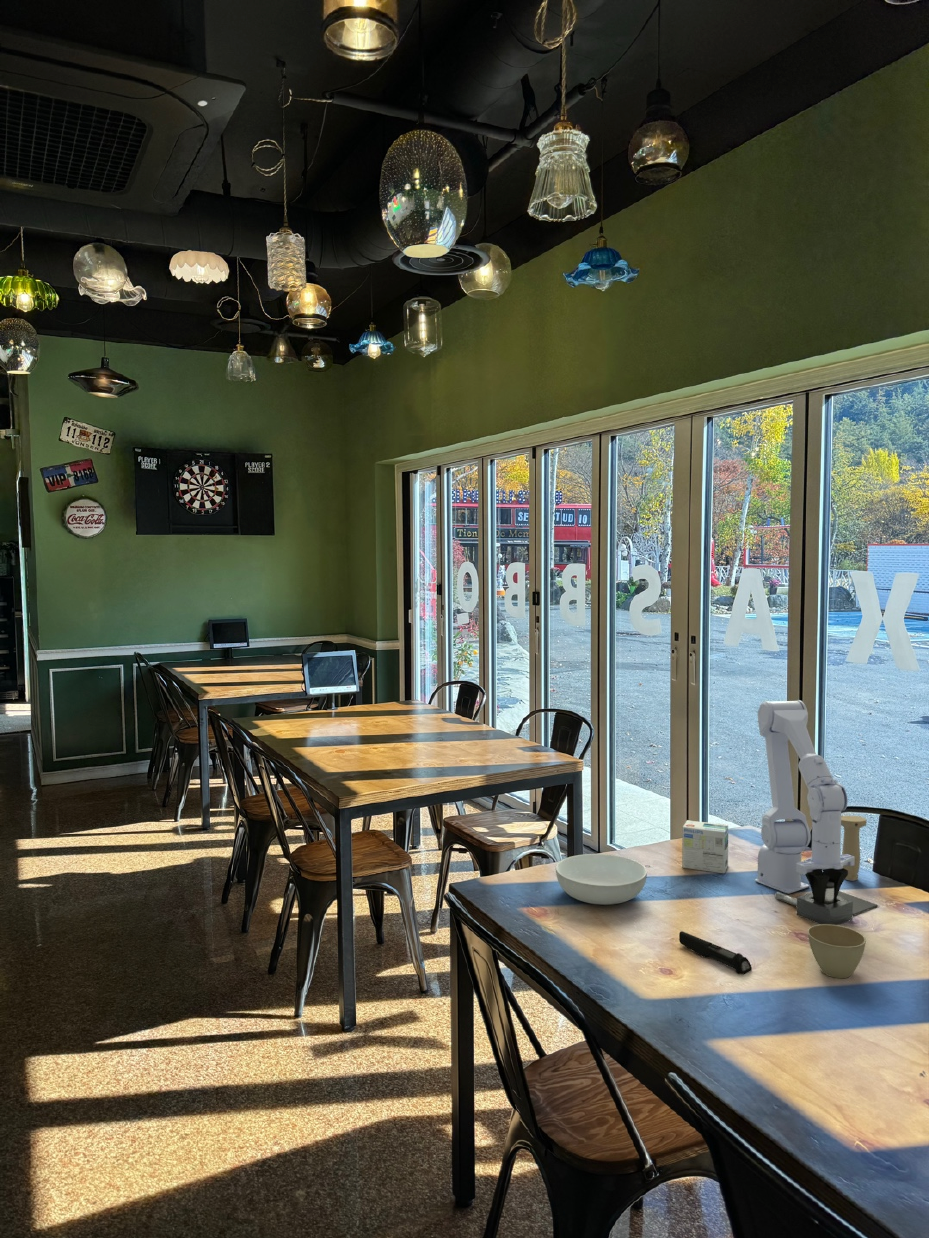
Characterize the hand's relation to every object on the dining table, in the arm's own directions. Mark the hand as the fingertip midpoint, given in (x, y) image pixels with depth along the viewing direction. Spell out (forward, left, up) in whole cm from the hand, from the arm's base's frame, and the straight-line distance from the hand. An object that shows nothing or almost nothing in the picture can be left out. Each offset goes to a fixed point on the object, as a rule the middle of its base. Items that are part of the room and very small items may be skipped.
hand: (824, 901), depth 181 cm
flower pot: (+16, -20, -4) cm, 26 cm away
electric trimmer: (0, -35, -4) cm, 35 cm away
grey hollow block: (-4, 0, -4) cm, 5 cm away
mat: (-2, +11, -4) cm, 11 cm away
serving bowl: (-35, -33, -4) cm, 48 cm away
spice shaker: (0, 0, -2) cm, 2 cm away
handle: (-10, +25, -4) cm, 27 cm away
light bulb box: (-35, +2, -4) cm, 35 cm away
